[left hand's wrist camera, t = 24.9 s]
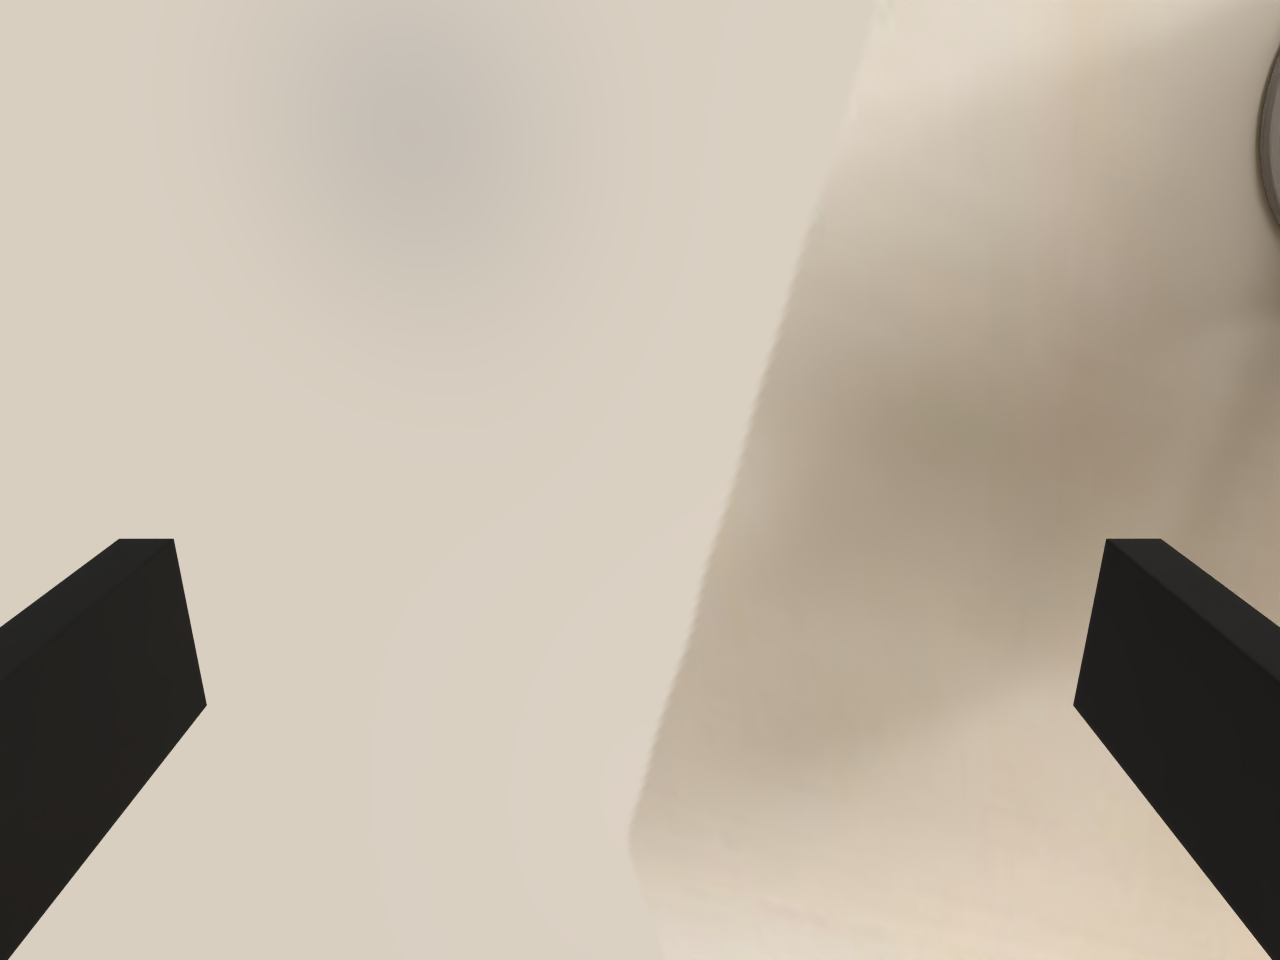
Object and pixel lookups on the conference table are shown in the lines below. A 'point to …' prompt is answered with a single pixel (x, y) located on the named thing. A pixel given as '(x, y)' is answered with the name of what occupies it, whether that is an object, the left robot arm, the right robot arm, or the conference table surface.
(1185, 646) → the left robot arm
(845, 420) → the conference table surface
